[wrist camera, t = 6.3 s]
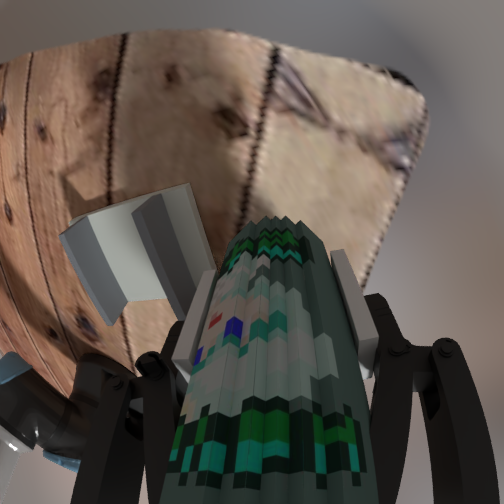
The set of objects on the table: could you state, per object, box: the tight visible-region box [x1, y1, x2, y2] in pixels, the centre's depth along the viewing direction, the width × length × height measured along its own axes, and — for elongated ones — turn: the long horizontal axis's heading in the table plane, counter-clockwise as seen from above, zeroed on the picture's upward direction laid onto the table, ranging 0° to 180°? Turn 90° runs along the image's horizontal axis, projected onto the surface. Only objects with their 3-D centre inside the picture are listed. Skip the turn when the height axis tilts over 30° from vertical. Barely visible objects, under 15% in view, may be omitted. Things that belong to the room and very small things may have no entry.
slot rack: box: [59, 183, 219, 326], centre depth 27 cm, size 16×12×6 cm
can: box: [159, 216, 379, 504], centre depth 11 cm, size 6×6×15 cm
